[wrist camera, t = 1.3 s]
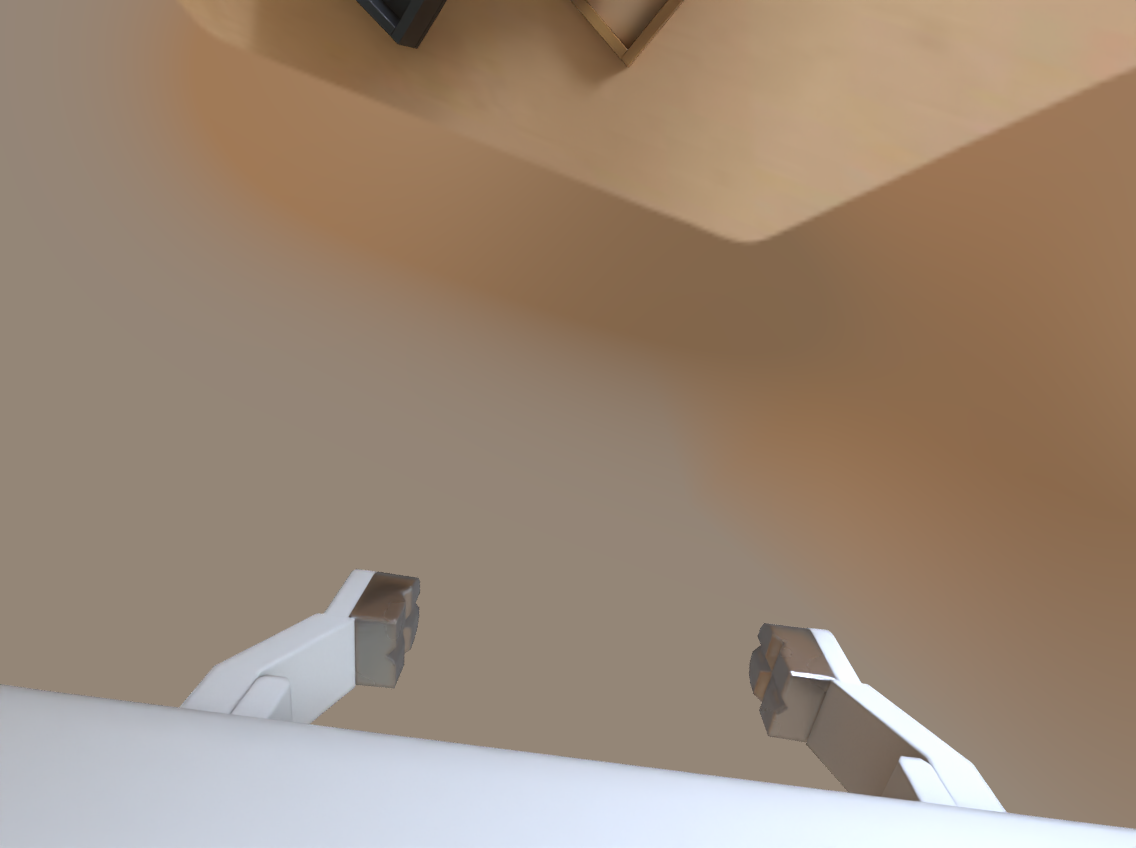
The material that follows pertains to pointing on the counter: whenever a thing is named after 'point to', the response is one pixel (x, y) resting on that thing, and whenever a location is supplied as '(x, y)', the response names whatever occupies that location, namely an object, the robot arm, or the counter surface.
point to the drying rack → (642, 40)
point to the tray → (404, 18)
